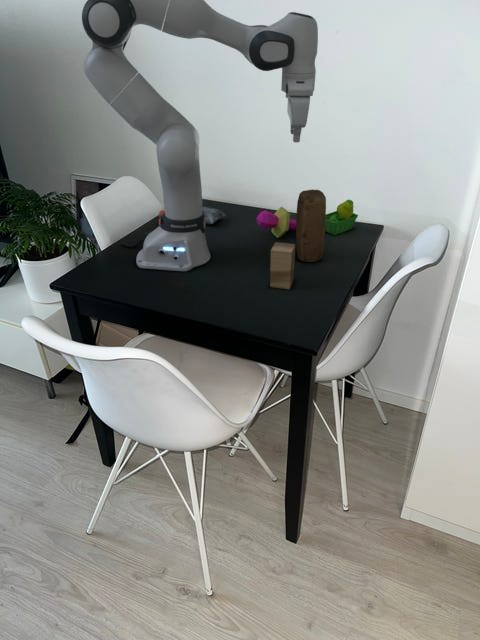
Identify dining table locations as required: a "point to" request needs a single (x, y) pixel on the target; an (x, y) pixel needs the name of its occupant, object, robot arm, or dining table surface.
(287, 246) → the maple block
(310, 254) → the block
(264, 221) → the toy
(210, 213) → the packaged food
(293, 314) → the dining table surface
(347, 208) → the fruit basket
